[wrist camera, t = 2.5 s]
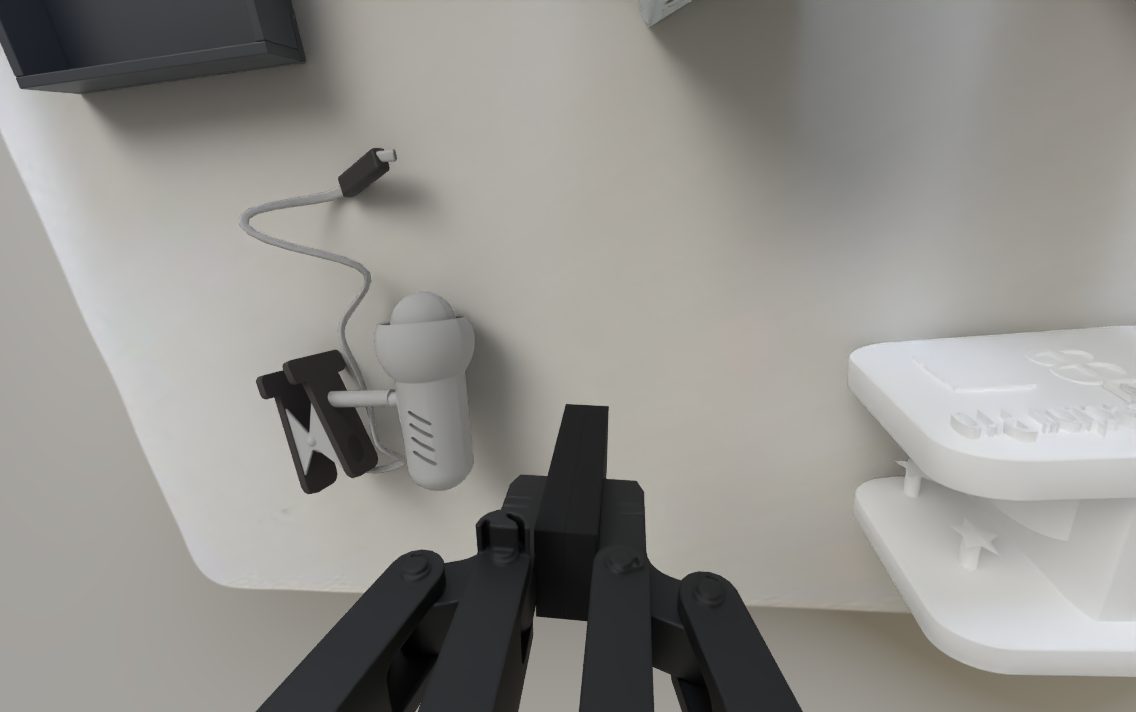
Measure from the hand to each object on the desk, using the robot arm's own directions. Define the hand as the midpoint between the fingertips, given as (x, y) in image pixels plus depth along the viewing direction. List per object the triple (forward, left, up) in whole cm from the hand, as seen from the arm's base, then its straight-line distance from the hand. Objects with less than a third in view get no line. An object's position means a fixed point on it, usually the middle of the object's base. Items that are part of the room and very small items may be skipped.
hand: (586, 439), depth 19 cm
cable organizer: (+4, +20, -12) cm, 24 cm away
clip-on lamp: (0, -13, -12) cm, 17 cm away
